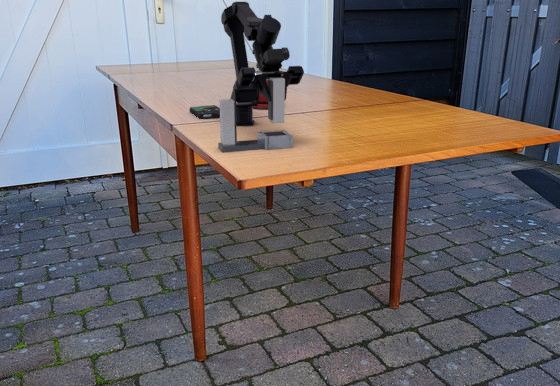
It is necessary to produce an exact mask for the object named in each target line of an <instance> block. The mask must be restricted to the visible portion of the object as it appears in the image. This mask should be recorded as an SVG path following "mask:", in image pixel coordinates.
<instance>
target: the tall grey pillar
mask: <svg viewBox="0 0 560 386" xmlns="http://www.w3.org/2000/svg"><path fill="white" fill-rule="evenodd" d="M268 88H269V91H270V94H271V99H272V100H271V101H268V109H267V111H268V112H267V116H268V117H267V118H268V120H269V122H270V123H271V124H273V125H274V124H275V125H276V124H285V114H286V113H285V111H286V110H285V108H286V107H285V106H286V105H285V104H286V100H285V79H284V78H270V80H268Z"/></svg>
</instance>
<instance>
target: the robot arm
mask: <svg viewBox="0 0 560 386" xmlns="http://www.w3.org/2000/svg"><path fill="white" fill-rule="evenodd" d="M249 3H250V2H247V1H234V2H232V3H231V4H230V6H229V5H228V7H225V8H224V9H223V11H222V13H221V16H220V17H221V18H220V21H221V24H222V25H223V30H224V32H225V33H226V35H227V36H228V37H229V38H230V43H231V44H230V45H231V50H232V52H231V53H232V56H233V57H232V59H233V63H234V71H235V80H234V81H235V82H234V83H233V87H232V92H231V94H230V95H231V96H230V98H229V99H232V100H234V101H235V102H236V126H254V123H255V120H254V117H253V114H254V113H253V109H254V108H253V106H258V102H259V94H260V93H261V94H262V95H263V96H264V97H265V98H266V99H267V100H268V101H271V100H272V99H271V94H270V91H269V88H268V86H267V83H266V80H270V78H284V79H285V101H286V99H287V93H288V92H287V91H288V87H289V86H291V85H292V86H293V85H294V86H295V85H299V84H300V82H301V80H302V78H303V76H304V74H305V69H304V68H303V66H301V65H289V66H288V67H287V70H286V71H284V70H280V69H282V67H283V64H282V63H283V62H284V61H288V60H289V58H290V56H291V55H290V50H289V48H288V47H286V46H285V47H281V48H273V45H275V44H276V42H277V39H278V37H279V34H280V31H281V29H282V23H281V22H280V21H279V20H278V19H276V18H275V17H273V16H272V15H271V14H264V16H263V18H260V17H259V16H257V15H256V13H255V12H254V10H253V9H252V8H251V7H250V4H249ZM245 38H246V40H247V41H248V42H253V43H252V45H251V47H252V54H253V55H254V57H255V60H256V65H255V66H256V68H255V67H249V61H248V55H247V47H246V40H245Z"/></svg>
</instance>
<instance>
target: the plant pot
mask: <svg viewBox="0 0 560 386" xmlns="http://www.w3.org/2000/svg"><path fill="white" fill-rule="evenodd" d="M266 83H267V86H268V80H266ZM253 109H257V110H259V109H260V110H264V109H265V110H268V100H267V99H266V98H265V97H264V96H263V95H262V94H261V93H260V94H259V102H258V106H253Z"/></svg>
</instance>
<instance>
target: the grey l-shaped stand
mask: <svg viewBox="0 0 560 386" xmlns="http://www.w3.org/2000/svg"><path fill="white" fill-rule="evenodd" d="M236 103H237V102H235V101H234V100H232V99H230V98H228V99H227V98H226V99H225V98H224V99H219V108H220V118H219V127H220V128H219V129H220V131H219V132H220V142H218V143H217V147H218V150H220V151H221V152H222V153H230V152H231V153H232V152H242V151H253V150H266V151H268V150H276V149H277V150H279V149H288V148H289V149H291V148H294V147H293V146H294V142H293V141H294V137H293V136H294V135H293V134H291V133H289V132H287V131H286V130H284V129H280V130H269V131H267V130H266V131H257V134H256V136H257V137H256V139H251V140H250V139H247V140H237V139H238V136H237V135H238V132H237V130H238V129H237V125H236Z"/></svg>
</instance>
